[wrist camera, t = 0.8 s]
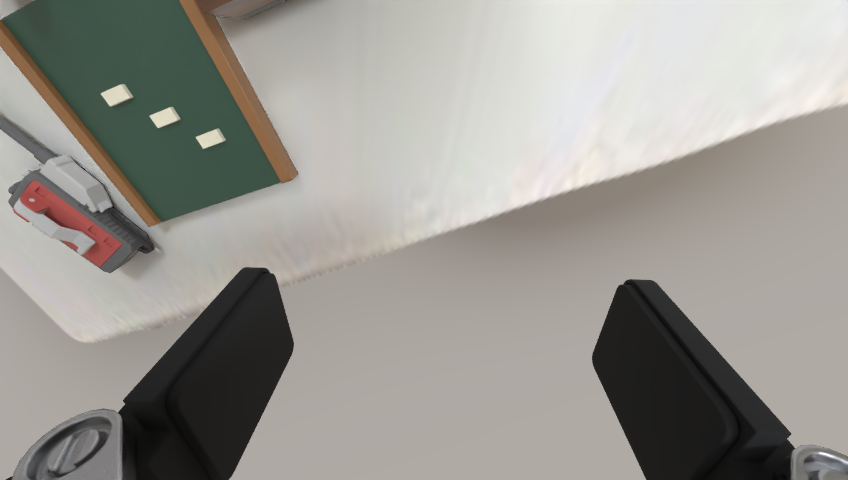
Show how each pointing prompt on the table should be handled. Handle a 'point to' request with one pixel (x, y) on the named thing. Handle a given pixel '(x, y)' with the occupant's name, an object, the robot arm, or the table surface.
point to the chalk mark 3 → (211, 138)
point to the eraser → (236, 7)
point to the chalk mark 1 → (117, 95)
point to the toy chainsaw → (73, 208)
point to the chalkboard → (150, 98)
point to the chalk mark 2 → (165, 117)
